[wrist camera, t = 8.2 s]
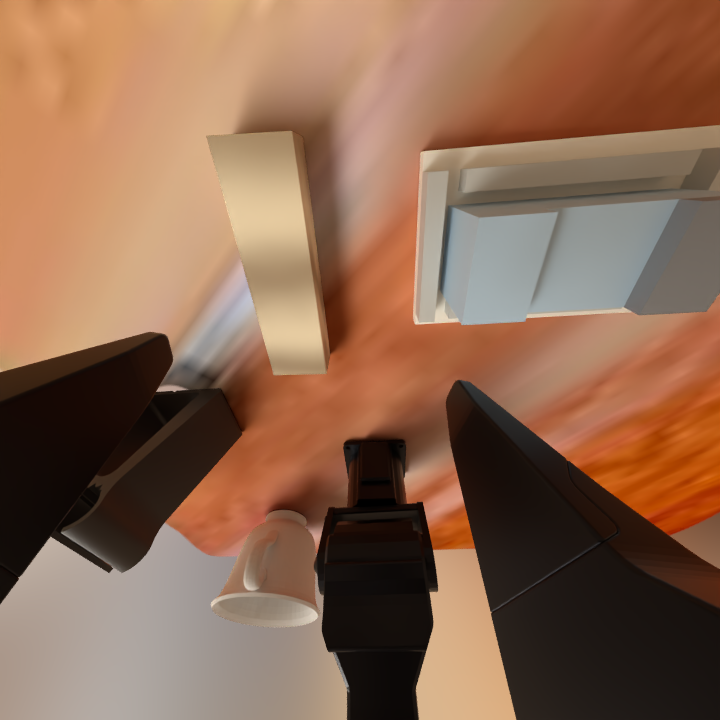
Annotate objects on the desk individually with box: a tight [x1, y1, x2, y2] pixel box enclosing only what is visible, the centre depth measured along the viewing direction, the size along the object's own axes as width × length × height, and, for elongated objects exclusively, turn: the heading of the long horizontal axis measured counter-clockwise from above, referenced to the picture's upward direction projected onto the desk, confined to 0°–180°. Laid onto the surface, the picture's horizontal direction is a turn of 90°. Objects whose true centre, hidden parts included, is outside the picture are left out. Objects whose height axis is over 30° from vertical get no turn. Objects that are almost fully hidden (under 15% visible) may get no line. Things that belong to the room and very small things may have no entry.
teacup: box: [211, 510, 320, 627], centre depth 34 cm, size 12×15×10 cm
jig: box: [413, 125, 720, 324], centre depth 16 cm, size 15×10×2 cm, turn 94°
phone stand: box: [51, 388, 242, 573], centre depth 22 cm, size 9×6×12 cm, turn 94°
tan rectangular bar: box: [206, 131, 330, 375], centre depth 18 cm, size 14×4×3 cm, turn 3°
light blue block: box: [440, 188, 720, 325], centre depth 15 cm, size 12×5×5 cm, turn 94°
